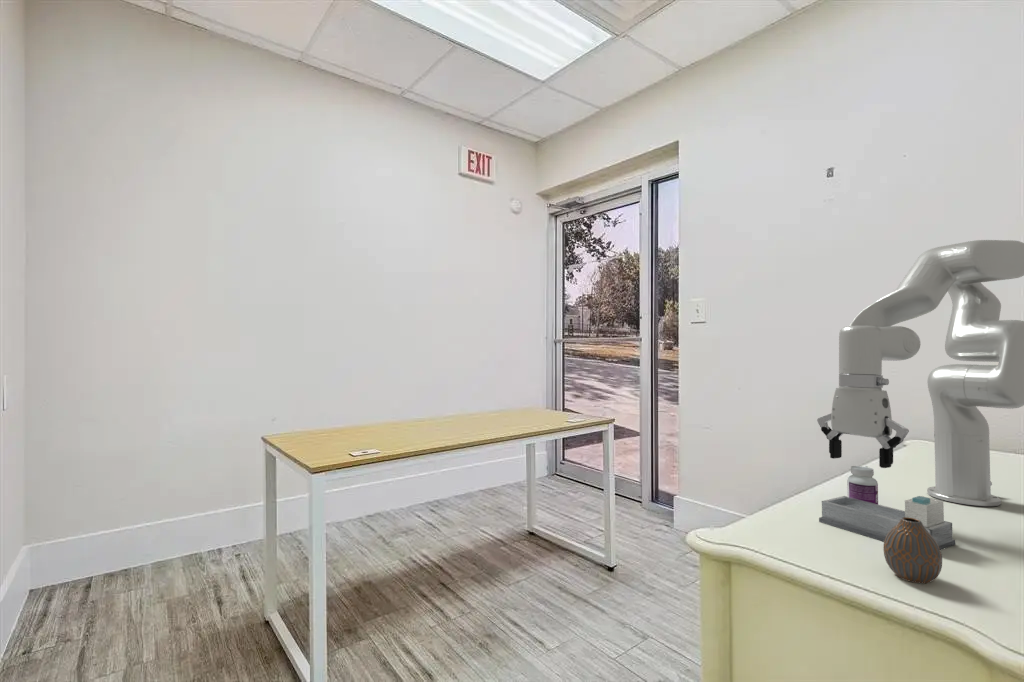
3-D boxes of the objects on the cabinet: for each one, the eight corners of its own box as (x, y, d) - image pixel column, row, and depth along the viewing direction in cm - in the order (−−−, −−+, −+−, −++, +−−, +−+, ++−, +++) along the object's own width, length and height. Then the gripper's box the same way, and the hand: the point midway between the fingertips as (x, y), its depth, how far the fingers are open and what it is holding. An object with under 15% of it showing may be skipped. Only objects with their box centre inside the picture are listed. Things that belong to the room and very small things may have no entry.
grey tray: (847, 514, 102) (846, 474, 102) (955, 544, 86) (954, 497, 86) (819, 521, 97) (818, 480, 97) (927, 554, 81) (926, 505, 81)
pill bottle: (884, 518, 99) (883, 471, 100) (855, 516, 100) (854, 470, 101) (870, 509, 105) (869, 465, 105) (843, 508, 106) (842, 464, 106)
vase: (872, 568, 76) (871, 512, 76) (912, 566, 77) (911, 511, 77) (912, 589, 69) (911, 528, 69) (956, 587, 70) (954, 527, 70)
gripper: (916, 385, 97) (917, 470, 97) (828, 380, 113) (828, 453, 112) (897, 385, 94) (897, 473, 93) (809, 380, 109) (808, 455, 109)
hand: (859, 462), depth 103 cm, fingers open, 9 cm apart
